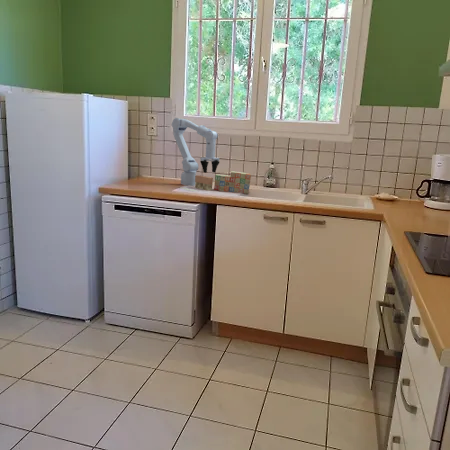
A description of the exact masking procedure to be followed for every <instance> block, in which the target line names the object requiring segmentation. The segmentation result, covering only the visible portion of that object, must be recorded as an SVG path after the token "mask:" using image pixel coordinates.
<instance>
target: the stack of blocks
mask: <svg viewBox="0 0 450 450" xmlns="http://www.w3.org/2000/svg"><path fill="white" fill-rule="evenodd" d="M214 177H215V178H214V179H215V180H214V187H213V191H219V192H230V193H239V194H245V195H249V193H250V185H251V178H252V173H247V172H242V171H234V170H233V171H232V170H231V171H230V175H227V174H226V175H225V174H215V176H214Z"/></svg>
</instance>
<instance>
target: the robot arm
mask: <svg viewBox="0 0 450 450" xmlns="http://www.w3.org/2000/svg"><path fill="white" fill-rule="evenodd" d="M171 127H172V131H173V132H172V134H173V138H174V140H175V143H176V145H177V147H178V150H179V152H180V155H181V157H182V161H181V164H182V170H183V172H182V173H181V175H180V184H181V185H184V186H189V187H195V175H197V171H198V170H199V163H198V162H197V161H196V159H195V158H194V157H193V156H192V155H191V152H190V150H189V147H188V145H187V142H186V140H185V138H184V133H185V131H186V130H187V129H188V128H189V129H192V130H194V131H196V133H197V135H199V136H201V137H203V138H204V139H205V142H206V143H205V157H200V165H201V167H202V171H203V173H207V172H208V165H209V161H210V162H211V171H212V173H216V171H217V168H218V166H219V164H220V157H215V156H216V143H217V142H216V141H217V139H218V137H219V135H218V132H217V131H216V130H212V129H211V128H208V127H206V125H201V124H200V125H197V124H196V123H194V121H191V120H189V119H187V118H178V117H175V118H173V120H172V122H171Z"/></svg>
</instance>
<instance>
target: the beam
mask: <svg viewBox="0 0 450 450" xmlns="http://www.w3.org/2000/svg"><path fill="white" fill-rule="evenodd" d="M213 181H214V177H211V176H205V175H200V174H199V175H197V174H196V175H195V182H198V183H204V184H212V185H213Z"/></svg>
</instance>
